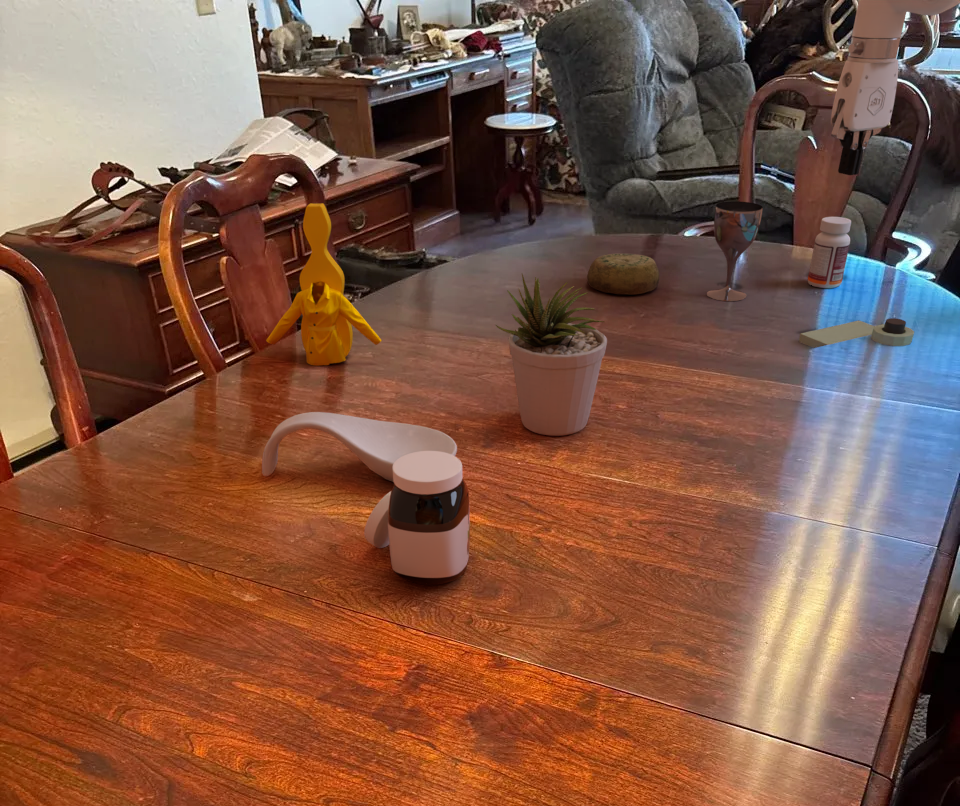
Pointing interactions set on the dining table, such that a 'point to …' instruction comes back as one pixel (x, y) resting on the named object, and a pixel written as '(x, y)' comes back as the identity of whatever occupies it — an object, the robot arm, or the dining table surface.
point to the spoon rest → (362, 439)
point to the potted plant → (554, 363)
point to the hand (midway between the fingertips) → (847, 173)
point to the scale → (855, 335)
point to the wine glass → (734, 239)
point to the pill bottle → (830, 253)
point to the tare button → (894, 326)
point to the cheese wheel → (623, 274)
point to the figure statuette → (322, 300)
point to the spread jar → (424, 519)
